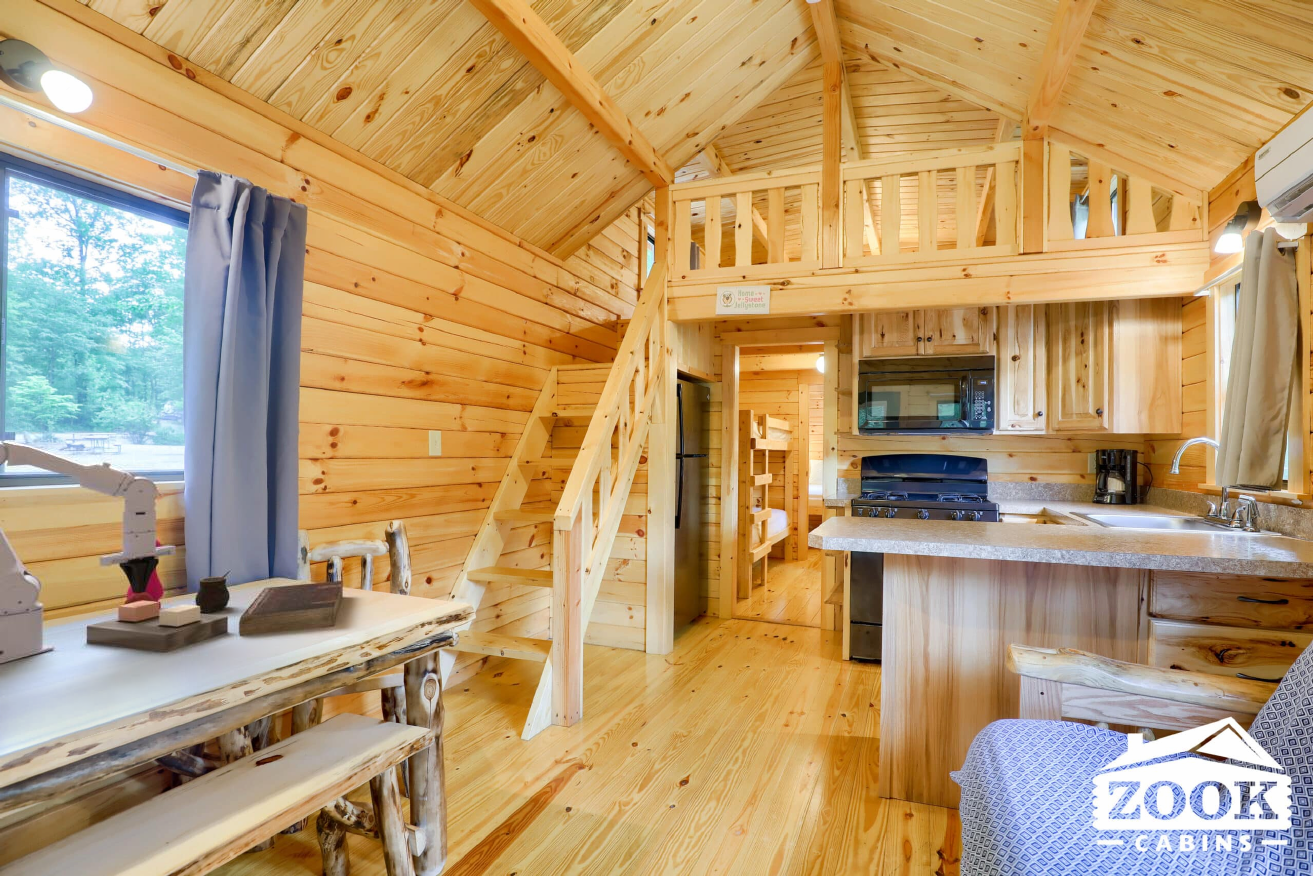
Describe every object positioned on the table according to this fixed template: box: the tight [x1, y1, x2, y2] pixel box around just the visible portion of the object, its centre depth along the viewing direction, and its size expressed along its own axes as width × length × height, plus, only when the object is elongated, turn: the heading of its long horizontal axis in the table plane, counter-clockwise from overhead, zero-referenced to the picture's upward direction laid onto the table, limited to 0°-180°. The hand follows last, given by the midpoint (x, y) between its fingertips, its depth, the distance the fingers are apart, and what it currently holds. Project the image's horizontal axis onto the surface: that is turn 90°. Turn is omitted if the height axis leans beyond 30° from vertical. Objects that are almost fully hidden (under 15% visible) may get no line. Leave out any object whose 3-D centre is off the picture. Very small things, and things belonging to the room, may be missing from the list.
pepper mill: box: [126, 538, 165, 610], centre depth 157 cm, size 7×7×20 cm
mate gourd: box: [194, 570, 231, 613], centre depth 159 cm, size 7×8×10 cm
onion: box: [123, 592, 154, 605], centre depth 149 cm, size 6×6×8 cm
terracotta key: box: [117, 600, 160, 622], centre depth 139 cm, size 5×5×3 cm
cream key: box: [160, 604, 201, 626], centre depth 136 cm, size 5×5×3 cm
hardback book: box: [238, 580, 344, 636], centre depth 156 cm, size 29×19×5 cm, turn 23°
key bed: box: [86, 609, 229, 653], centre depth 138 cm, size 14×22×4 cm, turn 75°
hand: (139, 592), depth 139 cm, fingers closed
